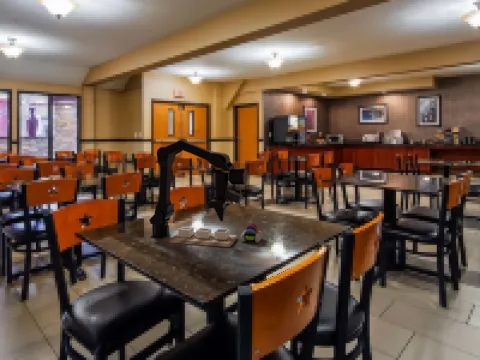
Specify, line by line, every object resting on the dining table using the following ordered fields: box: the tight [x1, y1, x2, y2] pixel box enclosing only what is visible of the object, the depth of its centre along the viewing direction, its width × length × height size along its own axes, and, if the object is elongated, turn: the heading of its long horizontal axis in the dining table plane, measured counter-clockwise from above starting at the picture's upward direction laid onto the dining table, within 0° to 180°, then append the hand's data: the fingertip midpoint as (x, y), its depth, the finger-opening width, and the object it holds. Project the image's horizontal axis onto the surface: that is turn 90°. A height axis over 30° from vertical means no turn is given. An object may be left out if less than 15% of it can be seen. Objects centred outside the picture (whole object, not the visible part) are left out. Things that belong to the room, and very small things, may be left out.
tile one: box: [177, 226, 195, 238], centre depth 149 cm, size 5×5×3 cm
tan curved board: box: [169, 231, 238, 248], centre depth 147 cm, size 26×12×2 cm, turn 77°
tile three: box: [214, 228, 230, 241], centre depth 145 cm, size 5×5×3 cm
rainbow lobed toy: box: [240, 222, 264, 244], centre depth 147 cm, size 8×10×7 cm
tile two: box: [195, 227, 212, 240], centre depth 147 cm, size 5×5×3 cm
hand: (221, 221), depth 145 cm, fingers closed
